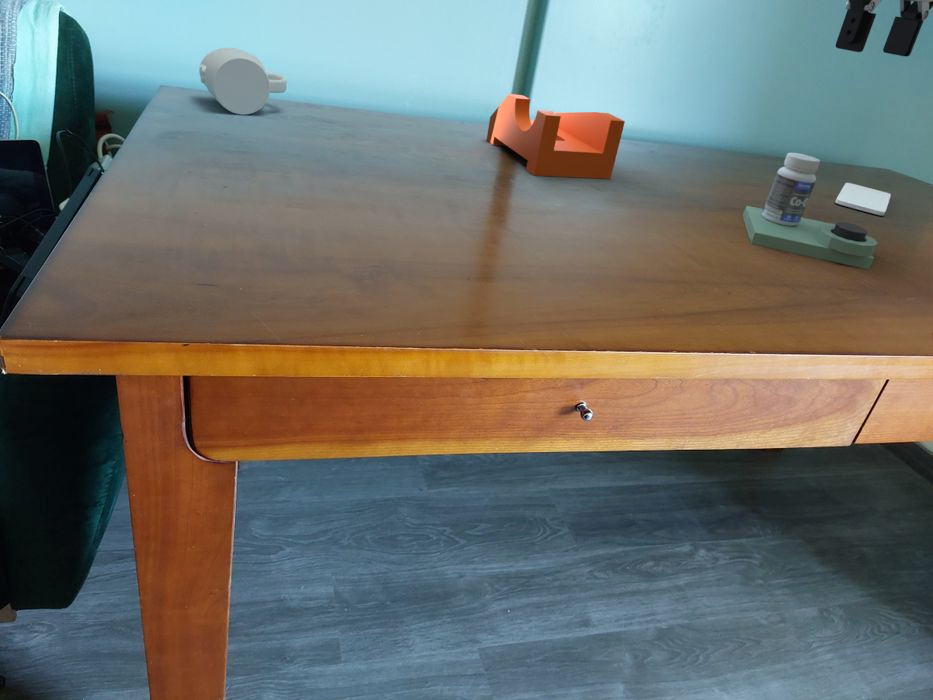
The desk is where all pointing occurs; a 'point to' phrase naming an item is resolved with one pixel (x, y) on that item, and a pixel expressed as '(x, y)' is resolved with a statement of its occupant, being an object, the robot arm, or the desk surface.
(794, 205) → the pill bottle
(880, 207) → the smartphone
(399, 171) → the desk surface
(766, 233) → the scale
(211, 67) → the mug
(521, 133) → the tape dispenser
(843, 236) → the scale button
